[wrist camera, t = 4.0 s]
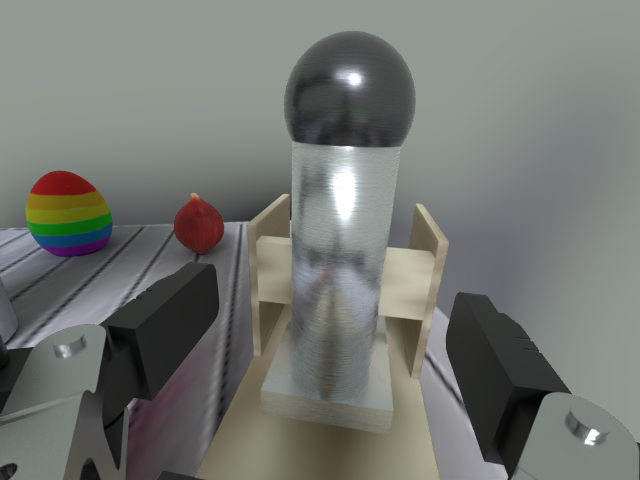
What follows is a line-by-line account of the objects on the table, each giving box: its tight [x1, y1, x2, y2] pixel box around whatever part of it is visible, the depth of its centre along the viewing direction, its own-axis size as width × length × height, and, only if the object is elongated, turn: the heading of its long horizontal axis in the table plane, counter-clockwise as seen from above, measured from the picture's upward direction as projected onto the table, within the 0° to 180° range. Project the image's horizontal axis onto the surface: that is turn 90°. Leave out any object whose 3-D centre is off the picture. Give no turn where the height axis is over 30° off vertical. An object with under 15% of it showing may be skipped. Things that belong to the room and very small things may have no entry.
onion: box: [174, 193, 224, 255], centre depth 37 cm, size 6×6×8 cm
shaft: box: [261, 31, 416, 435], centre depth 17 cm, size 6×13×16 cm, turn 171°
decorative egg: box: [26, 171, 112, 256], centre depth 37 cm, size 8×8×10 cm
